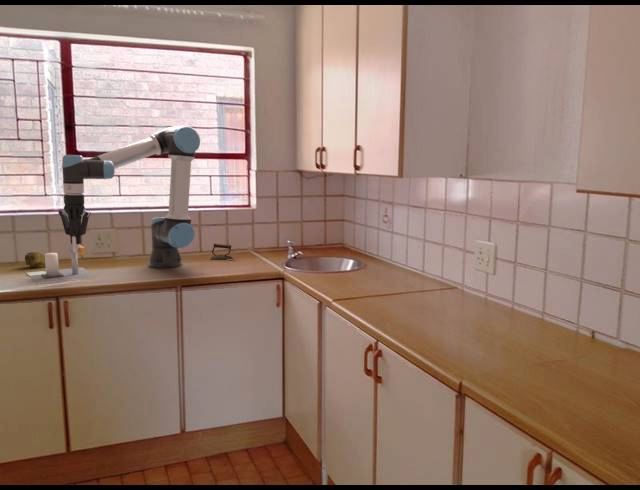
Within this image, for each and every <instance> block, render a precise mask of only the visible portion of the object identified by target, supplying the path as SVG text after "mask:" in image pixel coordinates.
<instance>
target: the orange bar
mask: <svg viewBox="0 0 640 490" xmlns="http://www.w3.org/2000/svg"><path fill="white" fill-rule="evenodd" d="M68 251H70V252H71V251H73V245H72V244H71V242H68ZM86 254H87V253H86V247H85V246H83V245H81V244H79V252H77V255H81V256H86Z"/></svg>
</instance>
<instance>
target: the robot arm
mask: <svg viewBox="0 0 640 490" xmlns="http://www.w3.org/2000/svg"><path fill="white" fill-rule="evenodd" d="M200 145H201V139H200V135H199V133H198V131H196V129H194V128H193V127H191V126H188V125H187V126H186V125H177V126H170V127H166V128H164V129H161V130H160V131H157V132H155V133H152V134H150V135H149V136H148V138H145V139H142V140H139V141H137V142H133V143H131V144H128V145H125V146H123V147H119V148H117V149H113V150H110V151H107V152H105V153H102V154H99V155H97V156H93V157H91V158H88V159H86V158H85V159H84V157H83V156H82V155H81V154H80V155H78V154H77V155H76V154H64V155H63V156H62V161H61V162H62V163H61V169H62V181H63V182H62V183H63V184H62V186H63V187H62V189H63V193H64V195H63V203H64V206H63V209H62V210H58V213H57V214H59V216H60V219H61V222H62V226H63V229H64V232H65V235H68V236H69V237H70V243H71V244H72V245H73V253H77V252H79V245H81V244H82V236H84V235H86V233H87V228H88V222H89V218H90V216H91V214H92V213H91V211H87V210H86V207H85V195H84V194H85V184H84V183H85V182H84V181H85V180H111V179H113V178H114V176H115V169H118V168H121V167H124V166H125V165H129V164H131V163H132V164H133V163H135V162H137V161H140V160H143V159H146V158H148V157H151V156H154V155H156V156H161V155H163V154H167V155H168V158H169V159H171V161H170V162H171V165H170V179H169V181H170V182H169V199H168V213H167V214H166V215H165V216H160V217H153V218H152V219H151V220H150V221H151V223H150V228H151V229H150V230H151V248H152V249H151V251H150V256H149V259H148V266H149V267H151V268H156V269H157V268H159V269H161V268H163V269H165V268H176V267H179V266H182V264H183V261H182V256H181V254H180V252H179V249H184V248H186V247H188V246H190V245H191V244H192V243H193V241H194V239H195V229H194V228H193V226H192V218H191V216H190V215H189V206H190V205H189V204H190V187H191V170H192V168H191V167H192V161H194V160H195V159H196V152H197V150H198V149H199V147H200ZM77 254H78V253H77Z"/></svg>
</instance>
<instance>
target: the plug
mask: <svg viewBox="0 0 640 490" xmlns="http://www.w3.org/2000/svg"><path fill="white" fill-rule="evenodd" d="M44 255H45V264H46V267H45V271H46V276H57V275H59V270H60V269H59V255H58V252H46V253H44Z"/></svg>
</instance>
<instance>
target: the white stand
mask: <svg viewBox="0 0 640 490" xmlns="http://www.w3.org/2000/svg"><path fill="white" fill-rule="evenodd" d="M70 252H71V253H70V256H71V268H62V269H59V275H57V276H46V274H42V276H32V277H29V278H30V279H32V280H33V282H35V283H41V284H39V285H42V283H46V282H47V283H48V282H49V283H50V282H52V281H53V282H54V281H58V282H56V283H57V284H58V283H59V281H61V280H62V281H63V280H72V279H79V278H83V279H81V280H84V278H88V277H89V279H90V280H91V279H92V278H90V277H95V276H96V275H95V274H94V273H92V272H90V271H89V270H88V269H85V268H84V267H82V266H81V267H80V266H79V261H78V253H73V251H70ZM44 271H45V272H46V270H44ZM27 273H28V272H26V273H25V274H26V275H27ZM73 281H76V280H72V282H73ZM64 282H67V281H64ZM49 283H48V284H49Z"/></svg>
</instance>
